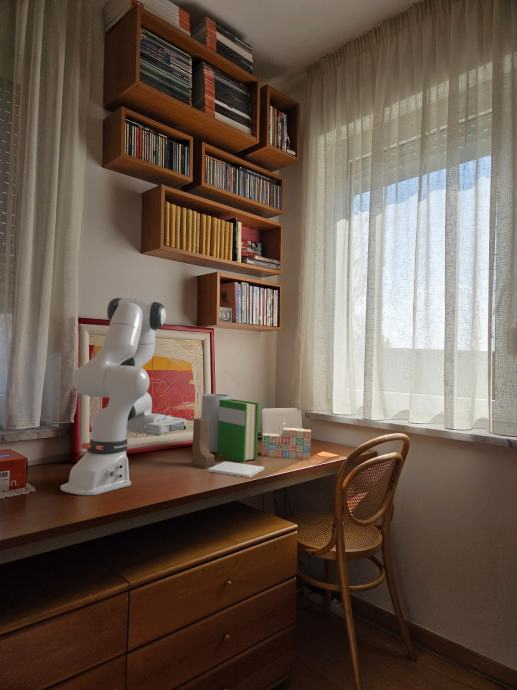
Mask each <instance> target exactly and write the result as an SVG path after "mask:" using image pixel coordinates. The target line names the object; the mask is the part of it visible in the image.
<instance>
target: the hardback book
mask: <svg viewBox="0 0 517 690" xmlns="http://www.w3.org/2000/svg"><path fill="white" fill-rule="evenodd" d="M259 406H260V403H259V402H253V401H246V400H240V399H236V398H229V399H225V400H219V425H218V451H217V452H216V453H217V456H220V457H223V458H226V459H230V460H234V461H237V462H240V463H242V464H245V463H246V461H248V460H249V461H251V460H252V461H253V462H254V461H255V462H256V461H257V460H258V436H259V435H258V433H259V413H260V412H259V409H260V407H259ZM244 462H245V463H244ZM257 462H258V461H257Z"/></svg>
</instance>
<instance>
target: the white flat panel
mask: <svg viewBox="0 0 517 690" xmlns="http://www.w3.org/2000/svg"><path fill="white" fill-rule="evenodd" d="M264 470H265V466H261V465H254V464H246V463H241V462H240V463H238V462H232V461H225V460H224V461H223V462H220V463H218V464H216V465H215V464H214V466H213V467H211V468H207V472H208V473H214V472H215V473H216V474H221V473H222V474H221V475H227V474H228V476H234V475H236V477H241V476H243V477H242V478H247V477H250V478H251V477H253V476H255V475H257V474H258V473H260V472H262V471H264Z"/></svg>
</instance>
